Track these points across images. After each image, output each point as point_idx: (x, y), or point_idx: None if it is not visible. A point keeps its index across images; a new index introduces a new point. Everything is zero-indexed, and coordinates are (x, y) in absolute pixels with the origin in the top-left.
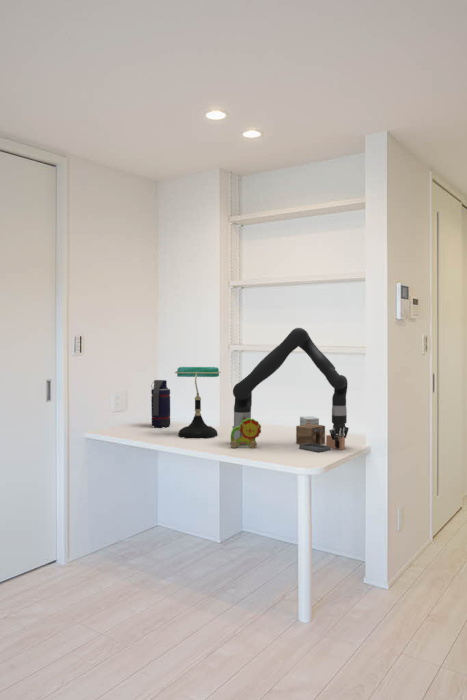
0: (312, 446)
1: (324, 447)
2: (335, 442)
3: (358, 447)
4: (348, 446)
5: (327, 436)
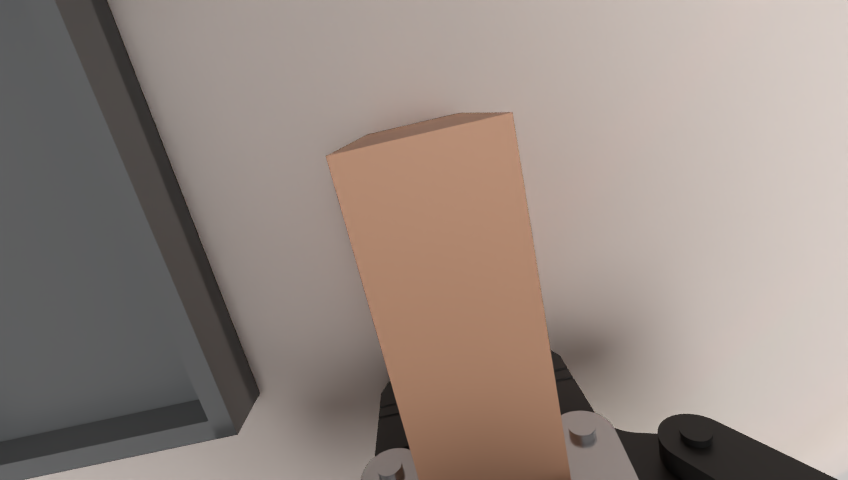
0: (36, 55)
1: (87, 449)
2: (379, 449)
3: (779, 429)
4: (728, 302)
5: (345, 208)
